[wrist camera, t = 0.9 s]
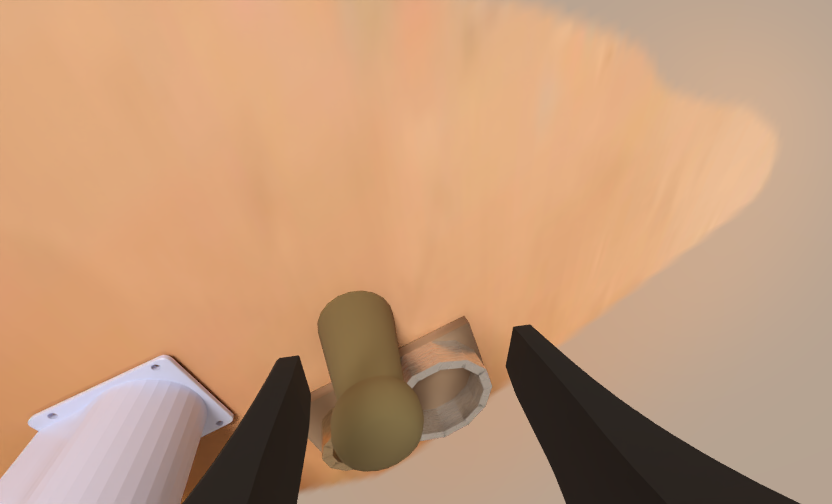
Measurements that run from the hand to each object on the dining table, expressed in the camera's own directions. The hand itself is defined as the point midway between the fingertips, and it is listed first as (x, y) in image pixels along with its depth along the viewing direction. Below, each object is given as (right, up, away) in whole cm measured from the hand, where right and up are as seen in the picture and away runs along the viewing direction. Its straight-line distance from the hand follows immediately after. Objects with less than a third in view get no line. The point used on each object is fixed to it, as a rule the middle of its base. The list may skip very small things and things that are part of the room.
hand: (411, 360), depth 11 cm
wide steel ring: (+2, -8, +19) cm, 21 cm away
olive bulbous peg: (-5, -2, +15) cm, 16 cm away
